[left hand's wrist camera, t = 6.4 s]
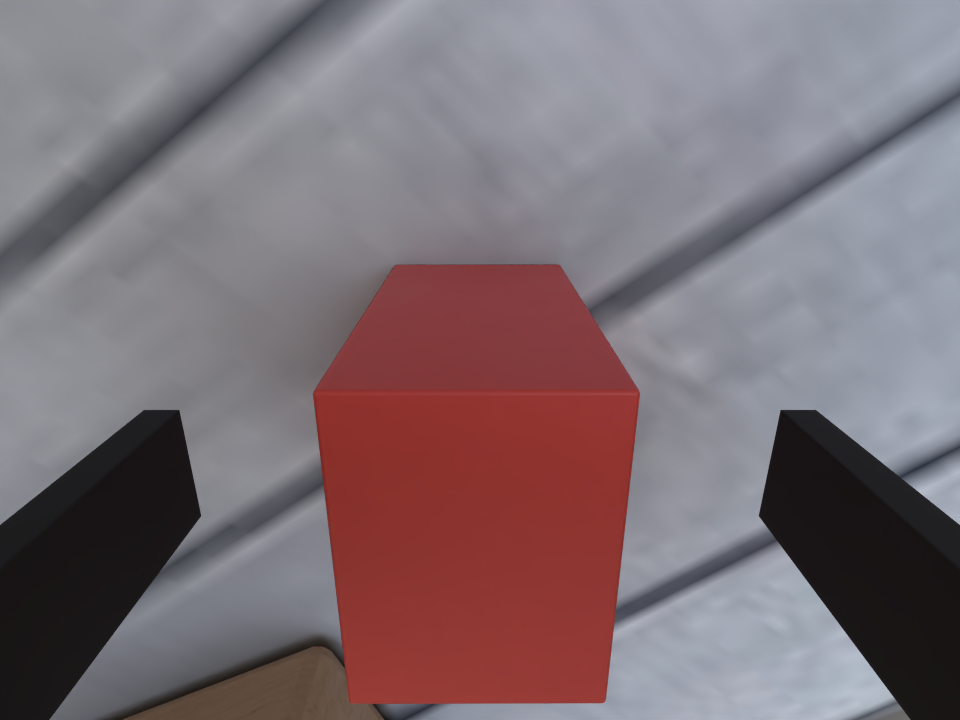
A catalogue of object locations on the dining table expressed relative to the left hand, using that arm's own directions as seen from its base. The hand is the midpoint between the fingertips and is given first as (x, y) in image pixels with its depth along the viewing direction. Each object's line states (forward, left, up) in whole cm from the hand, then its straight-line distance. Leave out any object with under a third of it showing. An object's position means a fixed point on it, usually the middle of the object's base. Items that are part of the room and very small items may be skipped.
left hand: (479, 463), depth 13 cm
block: (0, 0, -5) cm, 5 cm away
